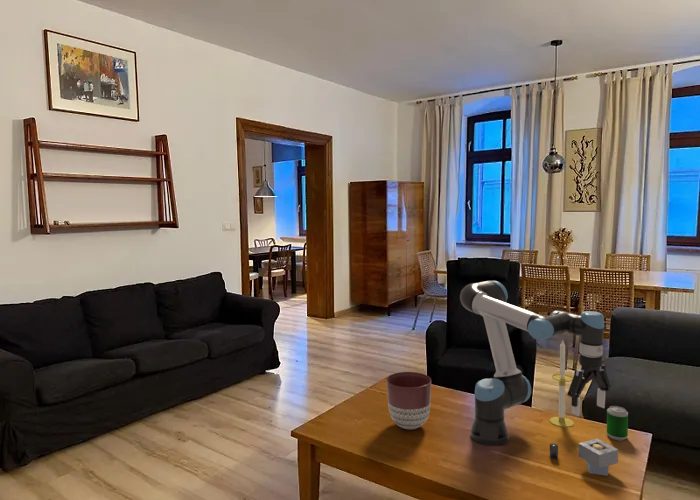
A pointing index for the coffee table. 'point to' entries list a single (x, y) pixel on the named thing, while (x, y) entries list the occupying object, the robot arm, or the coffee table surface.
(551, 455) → the ball
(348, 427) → the coffee table surface
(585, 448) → the grey hollow block
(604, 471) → the blue-gray block
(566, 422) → the candle
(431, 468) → the coffee table surface
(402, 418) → the planter
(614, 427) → the soda can
